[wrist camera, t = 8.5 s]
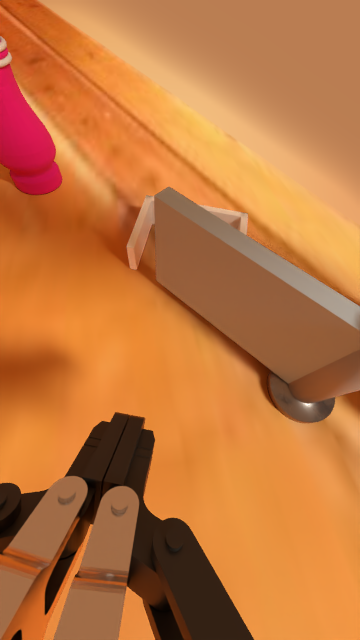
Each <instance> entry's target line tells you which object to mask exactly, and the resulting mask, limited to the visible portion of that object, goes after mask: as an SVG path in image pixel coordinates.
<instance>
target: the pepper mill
mask: <svg viewBox="0 0 360 640" xmlns="http://www.w3.org/2000/svg"><path fill="white" fill-rule="evenodd" d="M6 46H7V44H6V41H5V40H4V39H3V38H2V37H1V36H0V163H1V164H2V165H3V166H5V167H6V168H8V169H10V176H11V177H12V179H13V181H14V183H15V185H16V187H17V188H18V189H19V190H20V191H22V192H24V193H27V194H33V195H39V194H46V193H49V192H52V191H54V190H55V189H57V188H58V187H59V186H60V184H61V183H62V175H61V173H60V170H59V167H58V165H57V163H56V162H54V159H55V155H56V149H55V145H54V143H53V140H52V138H51V136H50V134H49V132H48V131H47V129H46V127H45V126H44V124H43V123H42V122H41V121H40V119H39V118H38V117H37V115H36V114H35V113H34V111H33V110H32V109H31V107H30V106H29V104H28V103H27V102H26V100H25V98H24V97H23V95H22V93H21V91H20V89H19V87H18V85H17V82H16V80H15V78H14V75H13V72H12V69H11V66H10V62H11V60H12V56H11V54H10V53H9V52H8V50H7V48H6Z"/></svg>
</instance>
